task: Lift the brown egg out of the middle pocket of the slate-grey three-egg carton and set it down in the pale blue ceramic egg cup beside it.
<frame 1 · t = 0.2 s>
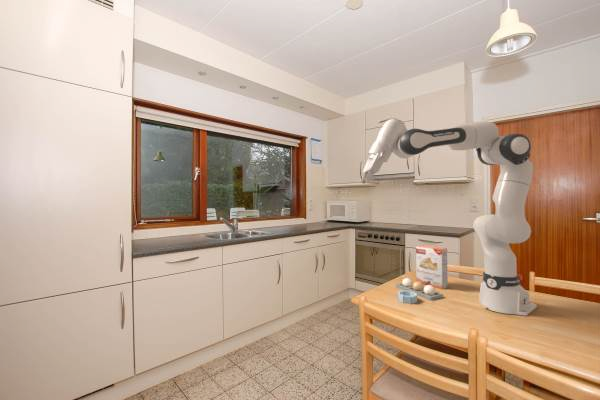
hand: (364, 182, 118), 54 cm above the table, tool tilted 30°, fingers open, 8 cm apart
brown egg: (418, 291, 132), point 1 cm above the table, touching carton
cracker box: (431, 287, 142), on the table
egg cup: (407, 302, 122), on the table
carton: (418, 293, 132), on the table
cream egg 1: (407, 288, 138), point 1 cm above the table, touching carton
cream egg 2: (429, 296, 126), point 1 cm above the table, touching carton
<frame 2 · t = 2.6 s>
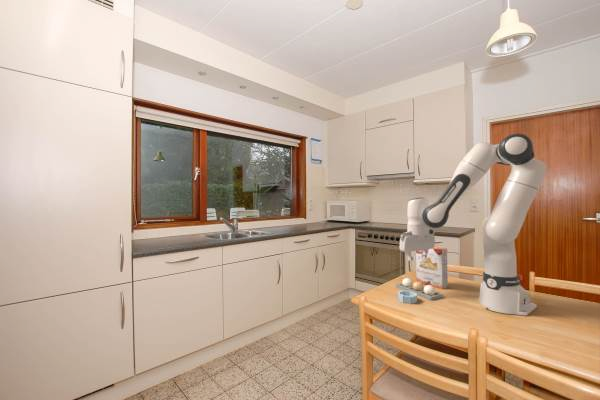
hand: (417, 259, 132), 17 cm above the table, tool pointing down, fingers open, 8 cm apart
nothing on the table moved.
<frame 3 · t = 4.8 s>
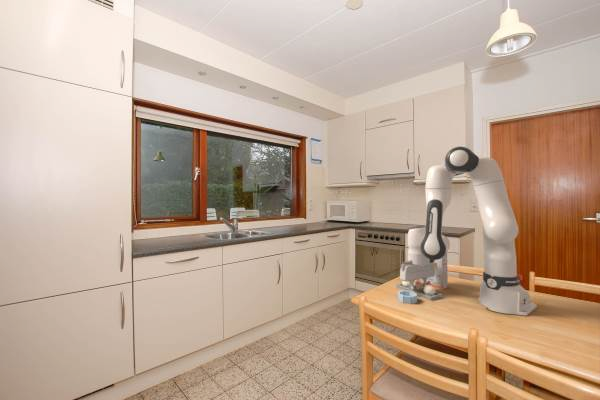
hand: (417, 287, 132), 3 cm above the table, tool pointing down, fingers closed on brown egg, 5 cm apart
brown egg: (418, 291, 132), point 1 cm above the table, touching carton, gripper
everything else where it was.
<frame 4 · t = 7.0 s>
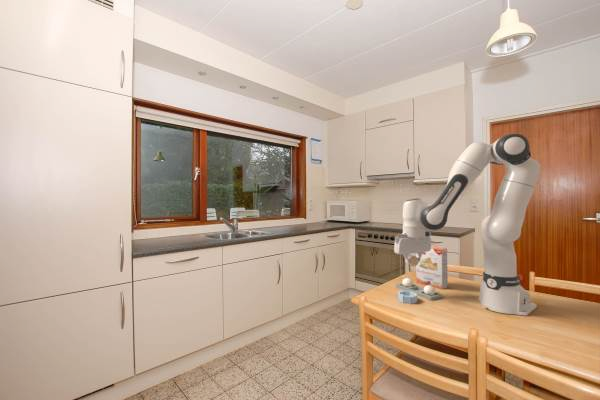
hand: (412, 262, 128), 16 cm above the table, tool pointing down, fingers closed on brown egg, 5 cm apart
brown egg: (412, 266, 128), point 14 cm above the table, touching gripper
everything else where it was.
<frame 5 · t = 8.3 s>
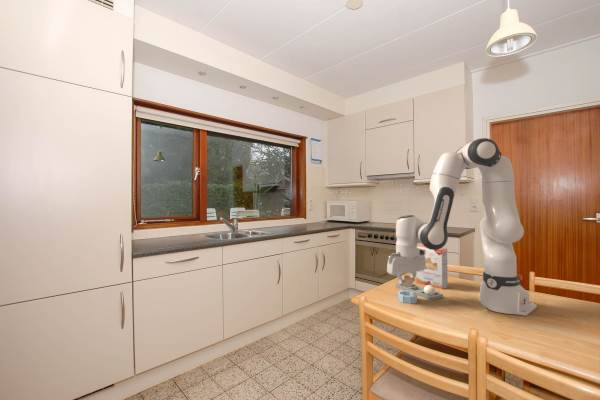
hand: (406, 282, 122), 9 cm above the table, tool pointing down, fingers closed on brown egg, 5 cm apart
brown egg: (406, 286, 122), point 7 cm above the table, touching gripper
everything else where it was.
when the fingers open (5 cm above the table, at t = 9.5 s): brown egg drops 2 cm, resting on egg cup.
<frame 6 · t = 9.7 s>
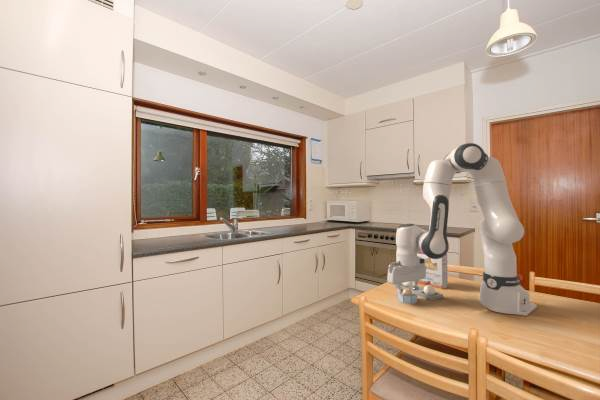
hand: (407, 291, 122), 5 cm above the table, tool pointing down, fingers open, 7 cm apart
brown egg: (407, 300, 122), point 1 cm above the table, touching egg cup
everything else where it was.
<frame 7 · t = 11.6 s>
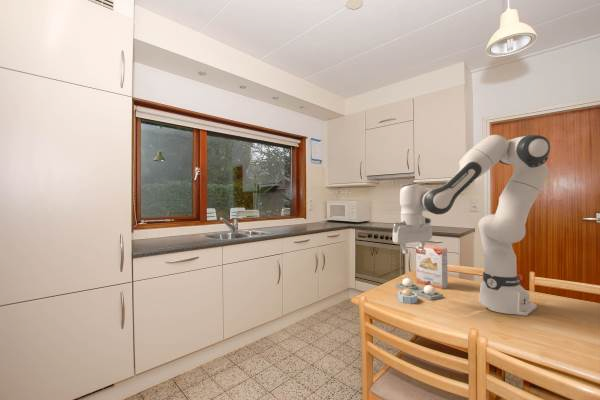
hand: (413, 252, 119), 23 cm above the table, tool pointing down, fingers open, 8 cm apart
nothing on the table moved.
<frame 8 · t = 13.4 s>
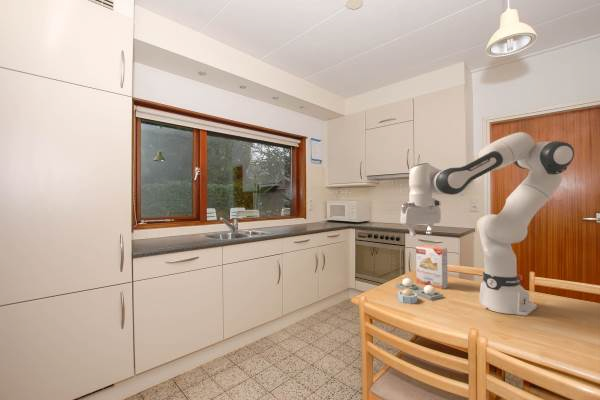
hand: (420, 235, 114), 31 cm above the table, tool pointing down, fingers open, 8 cm apart
nothing on the table moved.
at the end: brown egg 0.1 cm off-centre on the egg cup, point 1.0 cm above the egg cup's base; the gripper is holding nothing; cream egg 2 moved 0.1 cm from its start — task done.
